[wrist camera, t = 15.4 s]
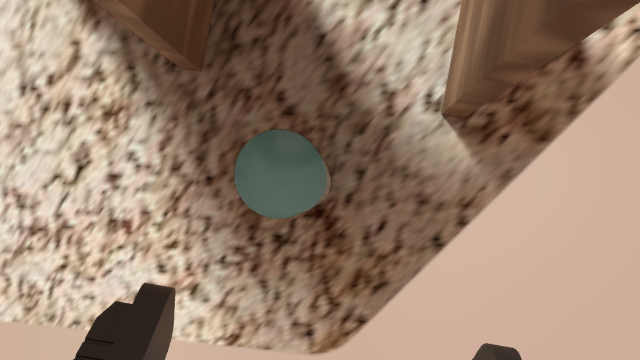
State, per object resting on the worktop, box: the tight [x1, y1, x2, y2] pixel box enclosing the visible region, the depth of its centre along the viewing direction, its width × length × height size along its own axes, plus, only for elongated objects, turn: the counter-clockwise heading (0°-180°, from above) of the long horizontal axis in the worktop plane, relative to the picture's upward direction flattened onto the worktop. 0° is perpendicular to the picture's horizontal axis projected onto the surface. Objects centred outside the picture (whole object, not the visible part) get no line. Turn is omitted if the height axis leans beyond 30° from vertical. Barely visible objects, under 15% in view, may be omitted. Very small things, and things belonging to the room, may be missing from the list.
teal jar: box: [234, 129, 331, 219], centre depth 33 cm, size 5×5×14 cm
